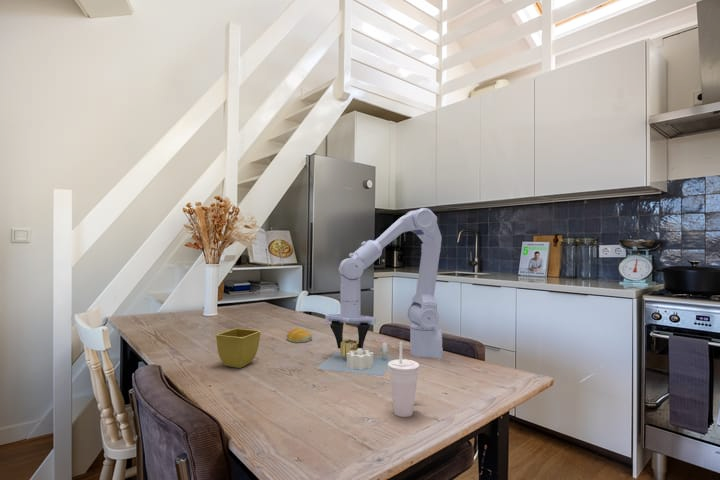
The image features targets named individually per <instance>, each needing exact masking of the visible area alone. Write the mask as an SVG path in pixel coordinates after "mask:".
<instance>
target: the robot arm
mask: <svg viewBox="0 0 720 480" xmlns="http://www.w3.org/2000/svg"><path fill="white" fill-rule="evenodd" d="M407 232H412V233H413V234H415V235H416V236H417V237H418V238H419V239H420V241H421V242H422V247H421V248H422V249H421V255H420V263H419V270H418V276H417V285H416V293H415V295H414V296H413V297H412V299H411V304H410V305H409V306H408V309H407V311H406V312H407V317H408V319H409V321H410V328H409V329H410V331H409V333H410V335H409V337H410V343H409V344H410V346H409V348H410V351H409V353H410V355H411V356H414V357H418V358H432V359H433V358H434V359H439V363H441V361H442V358H443V354H444V350H443V349H444V348H443V330H442V329H441V328H437V327H436V326H437V324H438V322H439V314H438V302H437V301H436V298H435V290H436V283H437V277H438V275H437V274H438V270H439V261H440V255H441V254H440V253H441V248H442V240H443V239H442V234H441V231H440V229H439V225H438V217H437V215H436V214H435V213H434V212H433V211H432V210H431V209H430V208H428V207H427V208H426V207H421V208H419V209H415V210H410V211H408V212H407V213H405V214H404V215H402V216H401V217H399V218H398V219H397V220H396V221H395V222H394V223H392V224H391V225H390V226H389V227H388V228H387V229H386V230H385V231H383V233H381V234H380V236H379V237H377V238H376V239H375V240H373V239H372V240H371V239H368V240H366V241H365V240H364V241H362V242H361V244H360V245H361V246H359V248H357V249H356V250H355V251H354V252H349V254H348V256H349V257H347V258H345V259H343V260H342V261H341V262H340V264H339V267H338V272H339V274H340V291H339V293H340V296H339V297H340V309H339V310H340V313H339V314H338V313H332V314H331V313H327V314H325V318H324V319H325V322H326V323H330V326H329V327H330V329H331V331H332V332H333V335H334V338H335V340H336V345H337V349H340V346H341V342H342V340H344V339H343V336H344V335H343V331H344V325H345V324H347V323H348V324H358V325H357V326H356V327H357V335H358V341H359V342H358V348H362V349H364V345H365V344H364V343H365V340H366V337H367V333H368V332H369V329H370V327H371V326H376V323H377V316H370V315H363V314H361V307H362V306H361V302H362V301H361V293H362V292H361V291H362V290H361V285H362V284H361V277H362V275H363V273H364V270H366V269H367V268H369V267H370V266H371V265H372V264H373V263H374V262H376V261H377V260H378V259H380V257H381V256H382V254H383V253H382V252H383V249H384V248H385V247H387V246H388V245H389V244H390V243H392V242H393V241H394V240H395V239H396V238H398V237H399V236H400V235H401V234H403V233H407Z"/></svg>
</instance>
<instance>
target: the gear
mask: <svg viewBox="0 0 720 480" xmlns="http://www.w3.org/2000/svg"><path fill="white" fill-rule="evenodd" d="M373 355H374V352H373V351H372V352H371V351H370V350H368V349H365V350H363V355H357V351H352V350H351V351H349V353H347V367H350V369H352V370H353V369H359V370H363V369H366V368H367V369H371V368H372V366H373Z"/></svg>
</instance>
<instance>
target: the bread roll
mask: <svg viewBox="0 0 720 480" xmlns="http://www.w3.org/2000/svg"><path fill="white" fill-rule="evenodd" d="M285 337H286V339H287V341H288V342H292V343H293V344H302V343H303V344H304V343H309V342H310V341H312V338H313V336H312V333H311V332H309V331H308V330H307V331H306V330H304V329H302V328H301V327H300V328H299V327H297V328H293V329H291V330H289V331H288V332H287V334H286V335H285Z"/></svg>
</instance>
